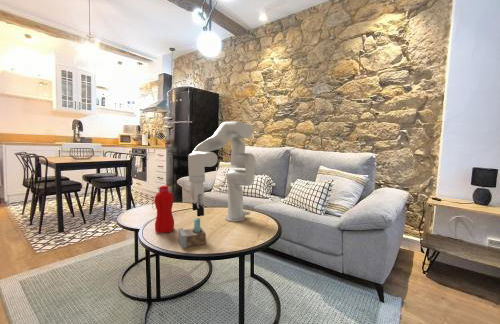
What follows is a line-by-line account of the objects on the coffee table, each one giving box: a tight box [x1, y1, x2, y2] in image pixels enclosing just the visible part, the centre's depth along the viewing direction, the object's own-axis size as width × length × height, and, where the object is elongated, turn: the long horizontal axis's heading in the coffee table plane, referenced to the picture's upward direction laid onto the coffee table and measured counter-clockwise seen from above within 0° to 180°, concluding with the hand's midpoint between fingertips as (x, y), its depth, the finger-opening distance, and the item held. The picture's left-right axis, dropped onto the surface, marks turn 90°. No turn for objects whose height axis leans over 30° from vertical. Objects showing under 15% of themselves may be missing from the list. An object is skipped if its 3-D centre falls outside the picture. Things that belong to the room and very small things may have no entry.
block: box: [183, 226, 207, 248], centre depth 114 cm, size 9×9×5 cm
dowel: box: [193, 217, 201, 233], centre depth 115 cm, size 3×3×10 cm
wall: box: [177, 227, 188, 249], centre depth 112 cm, size 2×10×6 cm, turn 26°
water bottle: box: [151, 185, 175, 234], centre depth 128 cm, size 9×11×25 cm
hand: (198, 212), depth 115 cm, fingers open, 9 cm apart
